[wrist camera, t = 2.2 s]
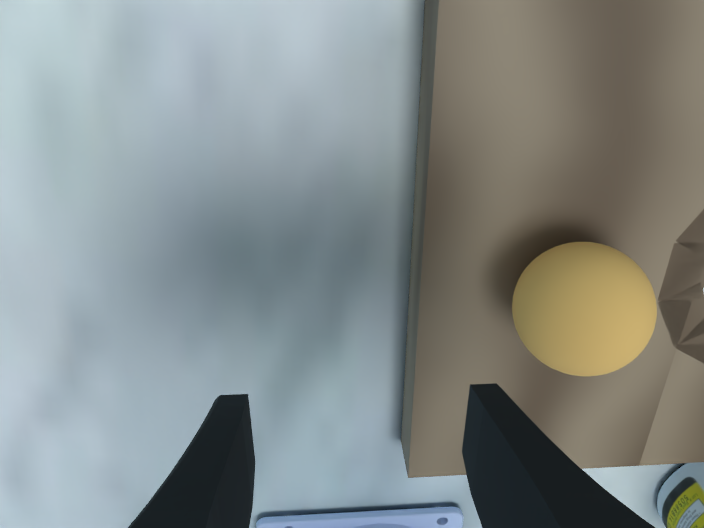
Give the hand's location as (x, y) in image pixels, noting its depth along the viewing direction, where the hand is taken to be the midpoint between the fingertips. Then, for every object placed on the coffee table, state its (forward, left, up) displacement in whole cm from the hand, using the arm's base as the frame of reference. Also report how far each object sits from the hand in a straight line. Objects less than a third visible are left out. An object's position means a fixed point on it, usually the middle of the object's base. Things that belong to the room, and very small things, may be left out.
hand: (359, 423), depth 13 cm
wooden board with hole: (+11, 0, -8) cm, 14 cm away
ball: (+7, 0, -4) cm, 8 cm away
